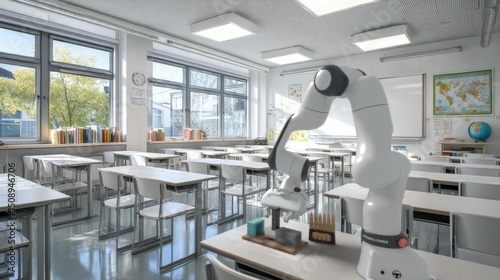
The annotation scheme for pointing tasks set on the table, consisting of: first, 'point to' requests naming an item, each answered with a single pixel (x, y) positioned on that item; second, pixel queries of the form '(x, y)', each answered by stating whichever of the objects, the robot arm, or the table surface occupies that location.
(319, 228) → the ammunition clip
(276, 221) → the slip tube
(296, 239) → the board
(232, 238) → the table surface
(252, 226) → the socket block
